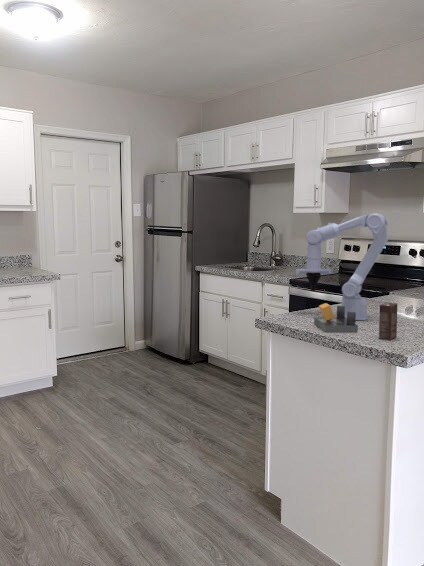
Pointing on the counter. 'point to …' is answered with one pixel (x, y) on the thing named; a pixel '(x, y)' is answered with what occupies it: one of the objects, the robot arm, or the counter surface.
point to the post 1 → (341, 312)
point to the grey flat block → (334, 325)
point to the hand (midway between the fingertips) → (312, 290)
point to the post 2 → (351, 318)
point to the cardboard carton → (326, 312)
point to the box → (388, 321)
